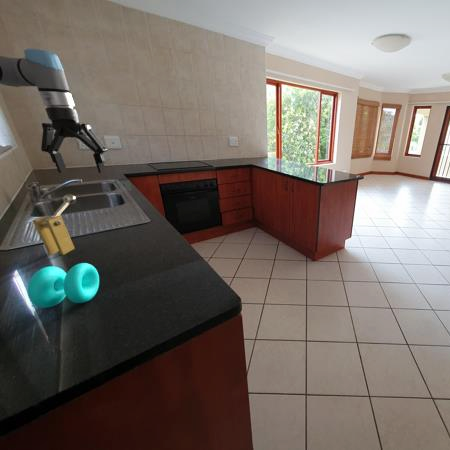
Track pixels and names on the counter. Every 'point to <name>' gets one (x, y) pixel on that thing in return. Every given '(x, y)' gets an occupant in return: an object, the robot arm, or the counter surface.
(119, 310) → the counter surface
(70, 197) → the lever
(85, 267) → the donuts
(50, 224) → the bracket
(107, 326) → the counter surface
